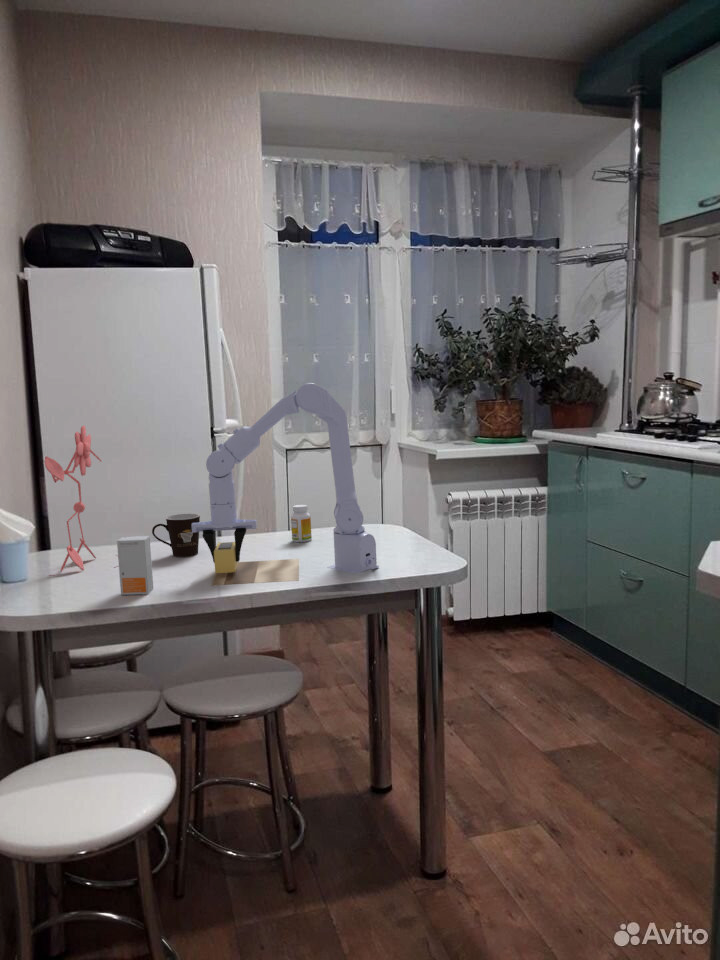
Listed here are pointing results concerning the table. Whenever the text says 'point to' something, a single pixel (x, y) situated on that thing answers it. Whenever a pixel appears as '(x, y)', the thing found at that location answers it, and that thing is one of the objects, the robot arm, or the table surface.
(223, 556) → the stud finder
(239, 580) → the subfloor board
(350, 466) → the robot arm
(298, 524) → the supplement bottle
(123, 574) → the skincare box
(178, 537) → the coffee mug
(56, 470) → the figurine
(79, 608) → the table surface
